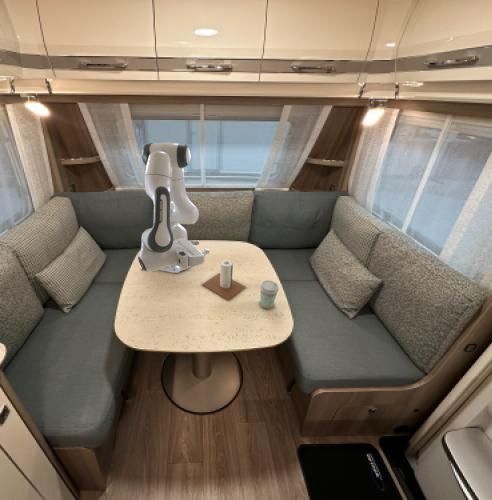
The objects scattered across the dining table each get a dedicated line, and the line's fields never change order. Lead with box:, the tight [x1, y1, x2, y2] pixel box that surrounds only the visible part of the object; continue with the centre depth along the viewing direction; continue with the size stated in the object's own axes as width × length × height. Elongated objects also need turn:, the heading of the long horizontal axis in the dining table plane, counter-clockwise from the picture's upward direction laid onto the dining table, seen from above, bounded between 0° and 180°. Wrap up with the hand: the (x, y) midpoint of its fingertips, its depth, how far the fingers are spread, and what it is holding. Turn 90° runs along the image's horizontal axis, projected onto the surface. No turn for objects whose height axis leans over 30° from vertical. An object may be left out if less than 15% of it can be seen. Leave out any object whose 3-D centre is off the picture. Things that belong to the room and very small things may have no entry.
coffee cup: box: [259, 280, 280, 310], centre depth 127 cm, size 9×8×12 cm
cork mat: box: [201, 272, 246, 301], centre depth 142 cm, size 18×14×1 cm
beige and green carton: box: [219, 259, 234, 288], centre depth 139 cm, size 6×6×14 cm
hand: (203, 246), depth 123 cm, fingers open, 8 cm apart
